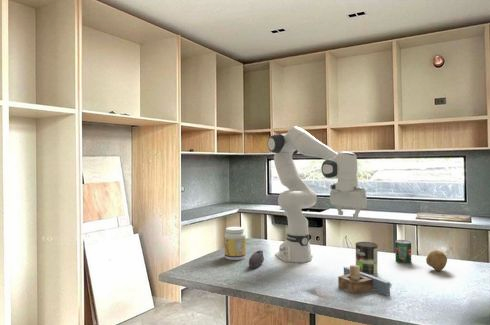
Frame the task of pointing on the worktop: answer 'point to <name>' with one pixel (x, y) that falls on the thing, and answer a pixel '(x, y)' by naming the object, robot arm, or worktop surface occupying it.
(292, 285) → the worktop surface
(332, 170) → the robot arm
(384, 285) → the wall
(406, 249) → the canned tomato
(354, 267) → the dowel
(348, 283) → the block
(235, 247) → the supplement tub
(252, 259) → the perforated stone tool
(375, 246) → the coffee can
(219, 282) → the worktop surface
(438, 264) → the natural sponge
